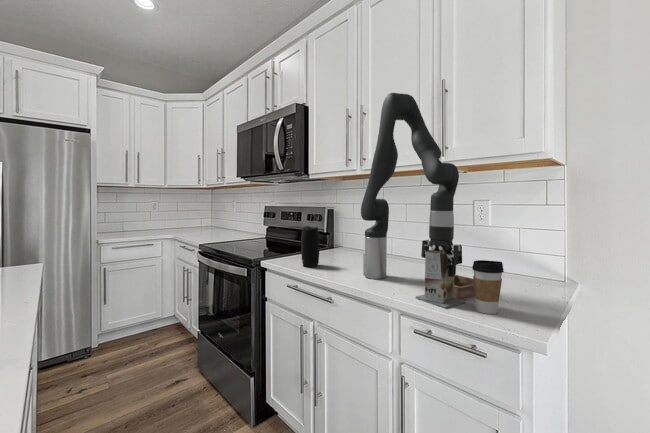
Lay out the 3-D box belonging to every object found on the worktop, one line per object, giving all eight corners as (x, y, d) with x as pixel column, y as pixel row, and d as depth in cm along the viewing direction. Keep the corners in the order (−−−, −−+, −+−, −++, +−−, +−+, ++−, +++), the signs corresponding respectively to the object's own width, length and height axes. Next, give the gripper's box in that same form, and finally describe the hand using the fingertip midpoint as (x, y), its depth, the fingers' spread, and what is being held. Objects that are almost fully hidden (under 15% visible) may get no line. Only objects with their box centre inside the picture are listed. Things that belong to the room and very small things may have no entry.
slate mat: (415, 298, 110) (415, 296, 110) (435, 293, 115) (435, 291, 115) (445, 308, 99) (445, 306, 99) (465, 303, 105) (465, 301, 105)
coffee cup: (493, 317, 92) (495, 265, 91) (465, 309, 99) (466, 260, 98) (507, 311, 97) (509, 261, 96) (480, 304, 104) (481, 257, 103)
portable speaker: (321, 264, 164) (321, 226, 163) (314, 268, 156) (314, 227, 154) (306, 263, 167) (306, 225, 166) (298, 267, 159) (298, 227, 157)
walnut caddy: (430, 290, 118) (430, 279, 118) (456, 284, 126) (456, 274, 125) (460, 299, 108) (460, 288, 107) (486, 293, 115) (486, 281, 115)
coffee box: (443, 304, 102) (444, 253, 101) (423, 299, 106) (424, 251, 105) (454, 297, 109) (455, 249, 108) (435, 293, 113) (436, 247, 112)
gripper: (416, 223, 110) (415, 271, 111) (452, 227, 98) (451, 280, 99) (431, 222, 114) (430, 268, 115) (468, 225, 101) (467, 276, 102)
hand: (440, 273), depth 107 cm, fingers open, 8 cm apart
